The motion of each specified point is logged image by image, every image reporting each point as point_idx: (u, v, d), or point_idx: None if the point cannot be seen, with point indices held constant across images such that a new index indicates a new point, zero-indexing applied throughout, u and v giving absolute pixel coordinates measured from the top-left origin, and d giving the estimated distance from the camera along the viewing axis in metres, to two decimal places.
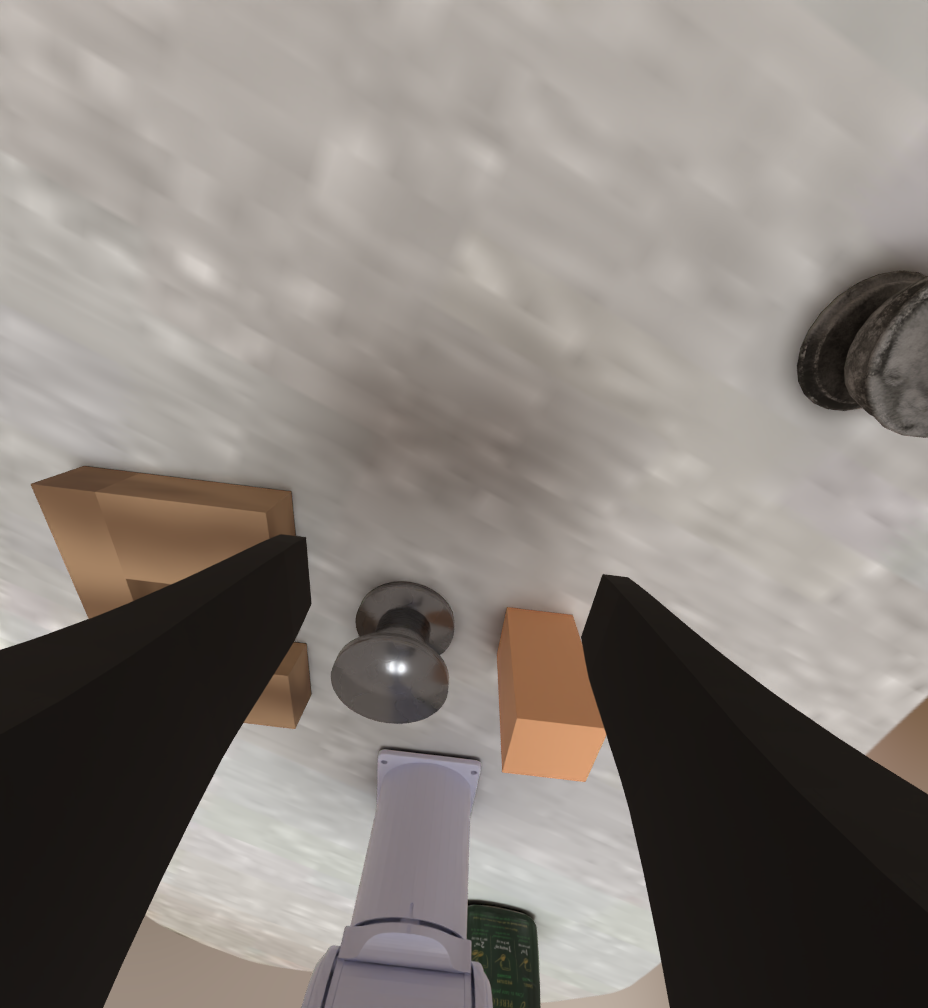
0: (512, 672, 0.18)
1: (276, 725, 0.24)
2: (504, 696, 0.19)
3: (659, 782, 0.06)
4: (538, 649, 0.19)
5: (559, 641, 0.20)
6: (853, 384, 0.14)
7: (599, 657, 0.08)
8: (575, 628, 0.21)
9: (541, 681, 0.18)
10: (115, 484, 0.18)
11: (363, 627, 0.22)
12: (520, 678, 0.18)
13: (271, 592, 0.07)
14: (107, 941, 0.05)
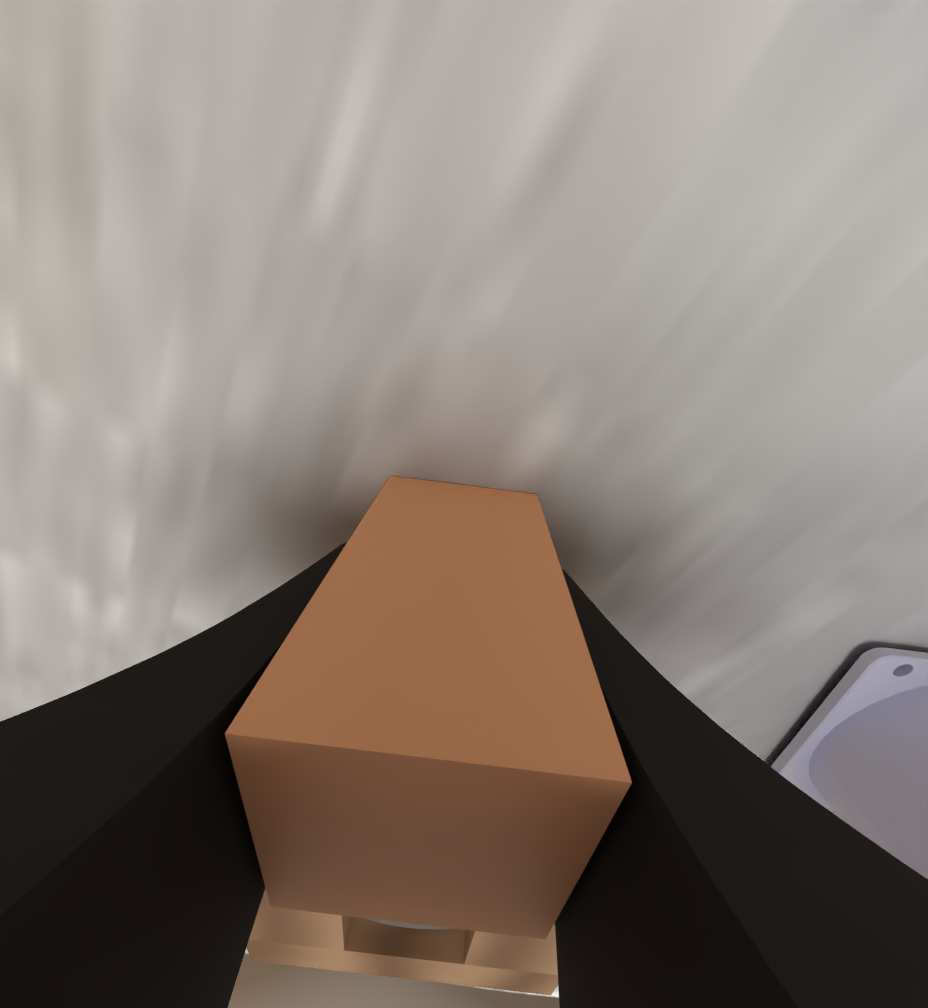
0: None
1: None
2: None
3: None
4: None
5: None
6: None
7: None
8: None
9: None
10: None
11: None
12: None
13: None
14: (229, 955, 0.05)
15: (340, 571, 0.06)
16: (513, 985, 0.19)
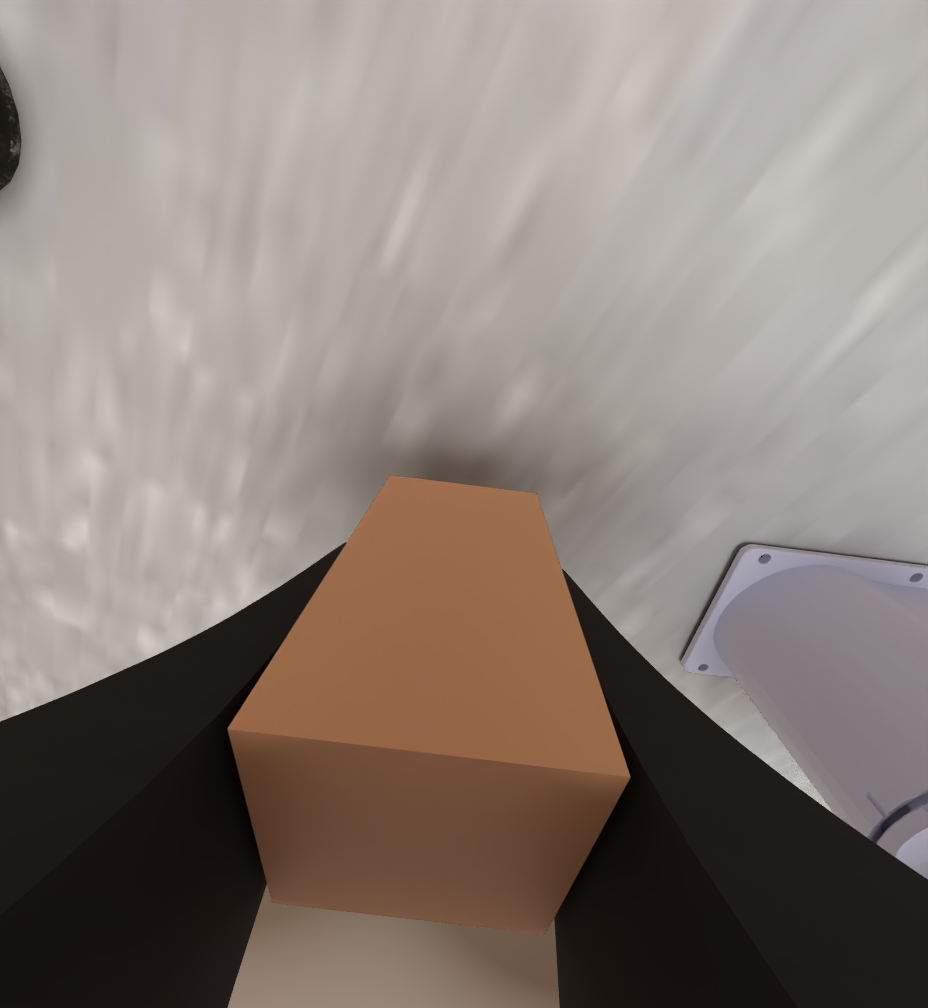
0: None
1: None
2: None
3: None
4: None
5: None
6: None
7: None
8: None
9: None
10: None
11: None
12: None
13: None
14: (229, 955, 0.05)
15: (340, 570, 0.06)
16: None
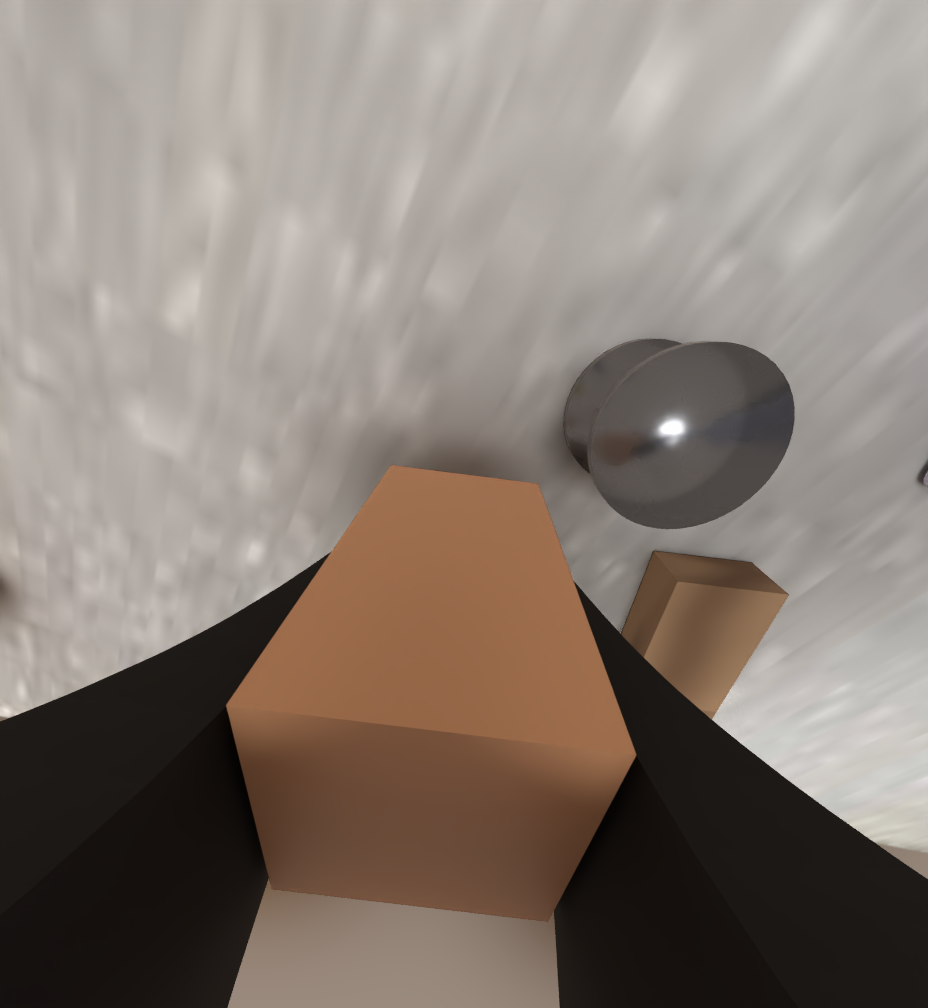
0: None
1: (774, 616, 0.17)
2: None
3: None
4: None
5: None
6: None
7: None
8: None
9: None
10: None
11: None
12: None
13: None
14: (229, 955, 0.05)
15: (342, 554, 0.06)
16: None
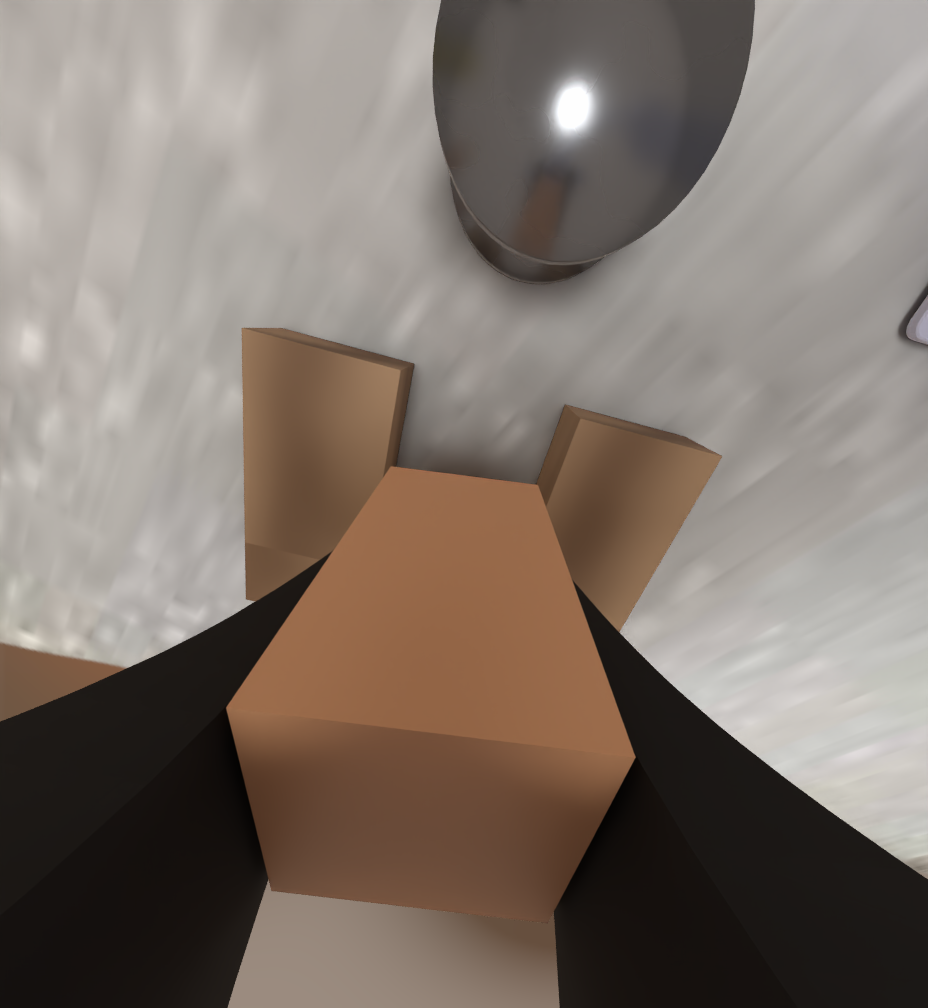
0: None
1: (701, 489, 0.13)
2: None
3: None
4: None
5: None
6: None
7: None
8: None
9: None
10: None
11: (535, 264, 0.12)
12: None
13: None
14: (229, 955, 0.05)
15: (341, 556, 0.06)
16: None
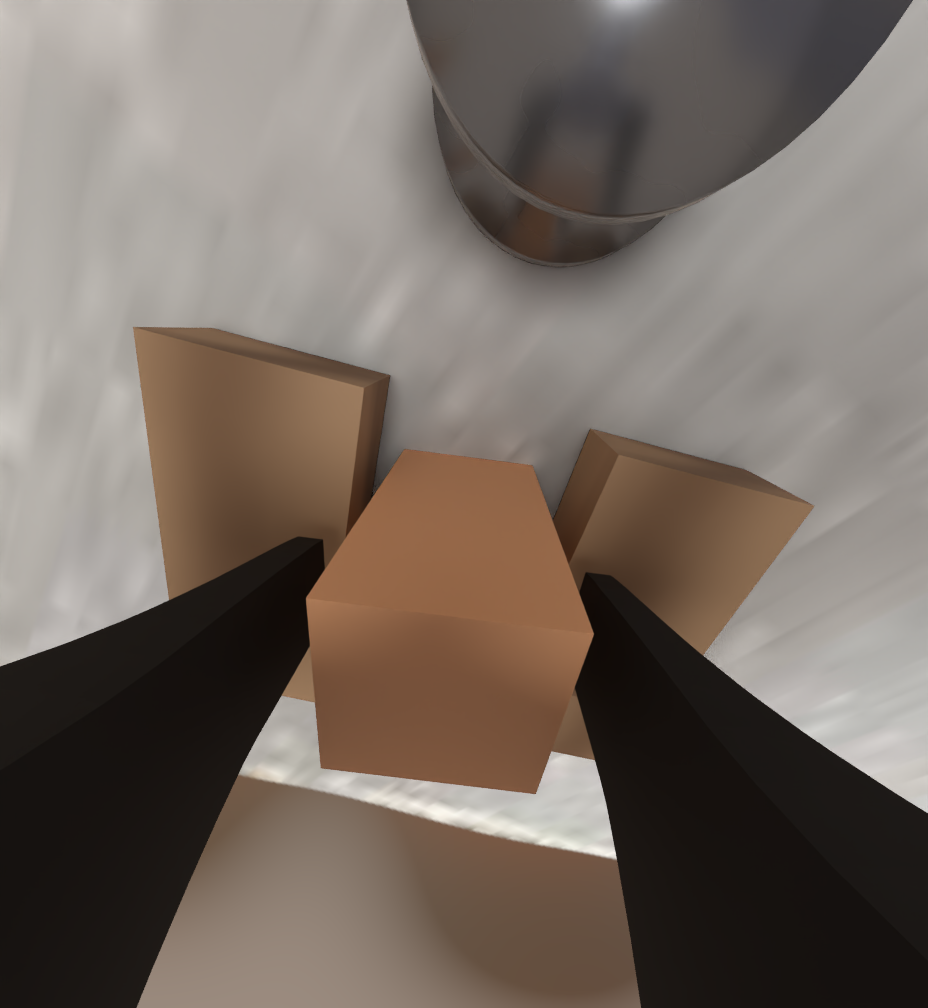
0: None
1: (779, 548, 0.09)
2: None
3: (634, 779, 0.06)
4: None
5: None
6: None
7: None
8: None
9: None
10: None
11: (555, 238, 0.08)
12: None
13: (291, 594, 0.07)
14: (139, 945, 0.05)
15: (371, 512, 0.07)
16: (573, 740, 0.13)
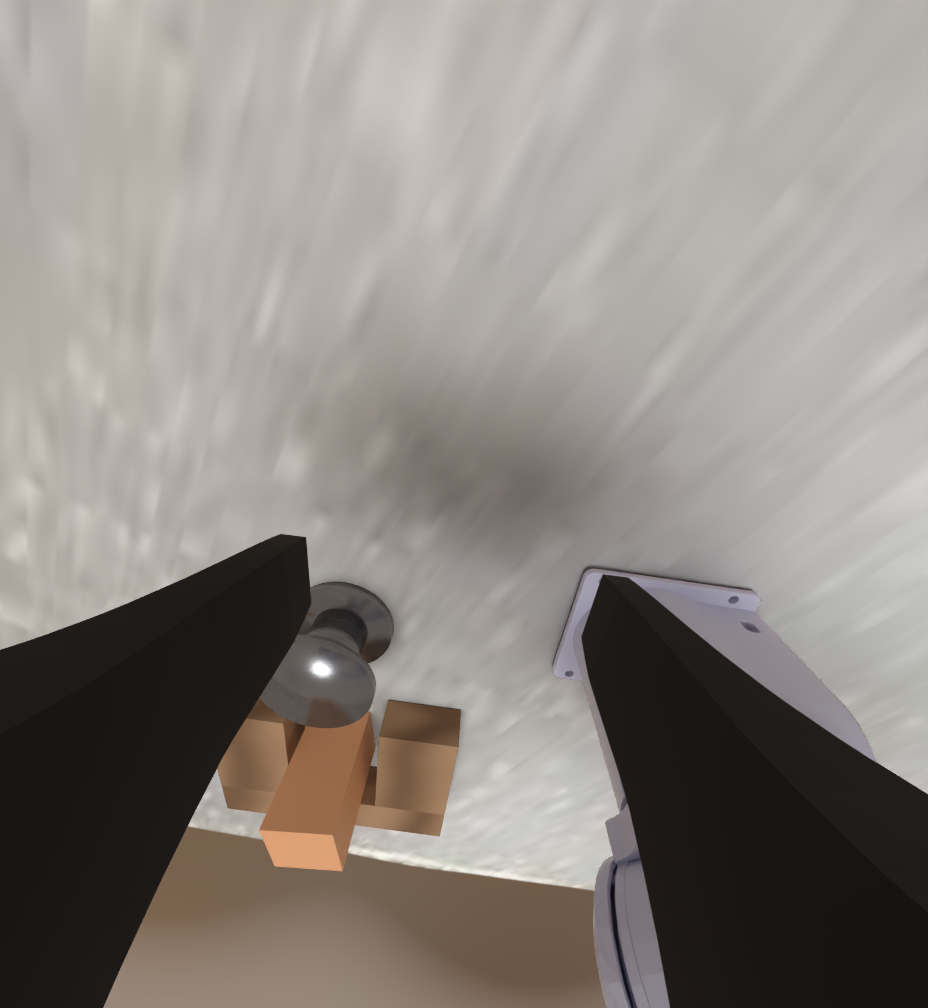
0: None
1: (455, 758, 0.23)
2: None
3: (659, 782, 0.06)
4: None
5: None
6: None
7: (599, 657, 0.08)
8: None
9: None
10: None
11: None
12: None
13: (271, 592, 0.07)
14: (107, 941, 0.05)
15: (286, 775, 0.22)
16: (412, 826, 0.27)
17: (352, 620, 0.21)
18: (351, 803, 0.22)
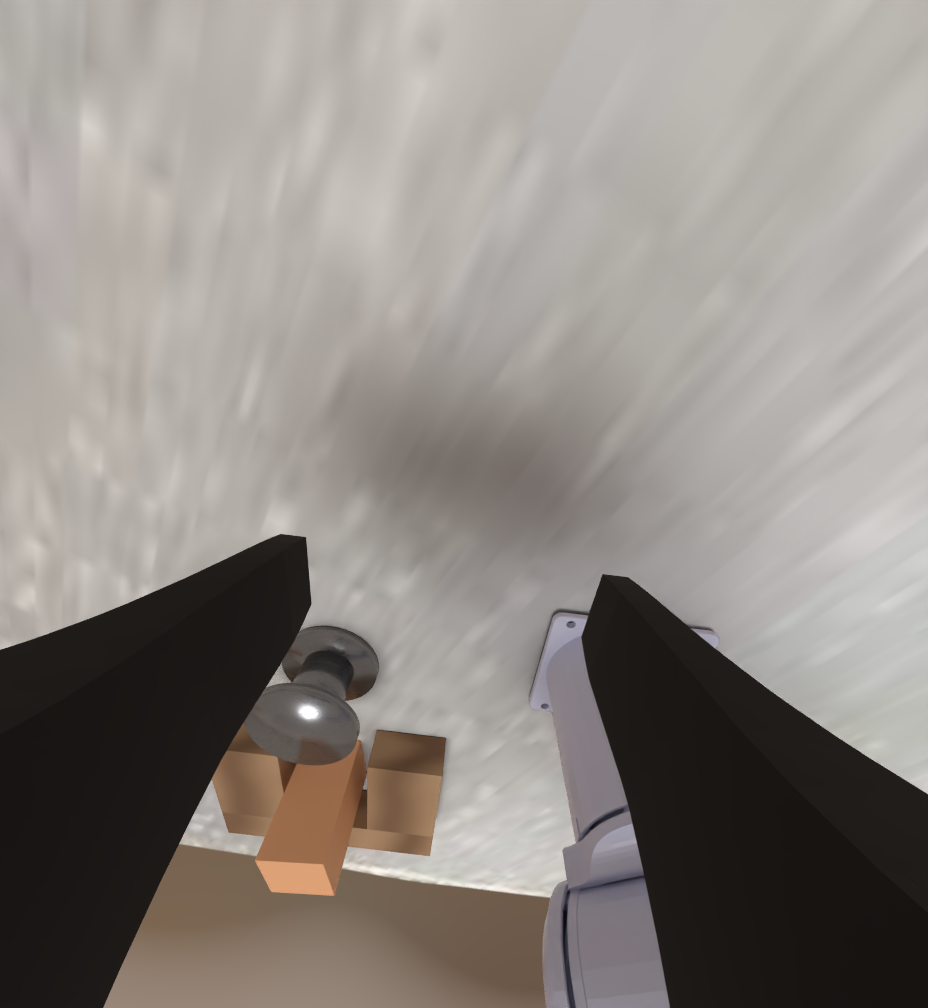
0: None
1: (440, 786, 0.25)
2: None
3: (659, 782, 0.06)
4: None
5: None
6: None
7: (599, 657, 0.08)
8: None
9: None
10: None
11: None
12: None
13: (271, 592, 0.07)
14: (107, 941, 0.05)
15: (281, 806, 0.23)
16: (403, 847, 0.29)
17: (338, 662, 0.22)
18: (342, 830, 0.24)
